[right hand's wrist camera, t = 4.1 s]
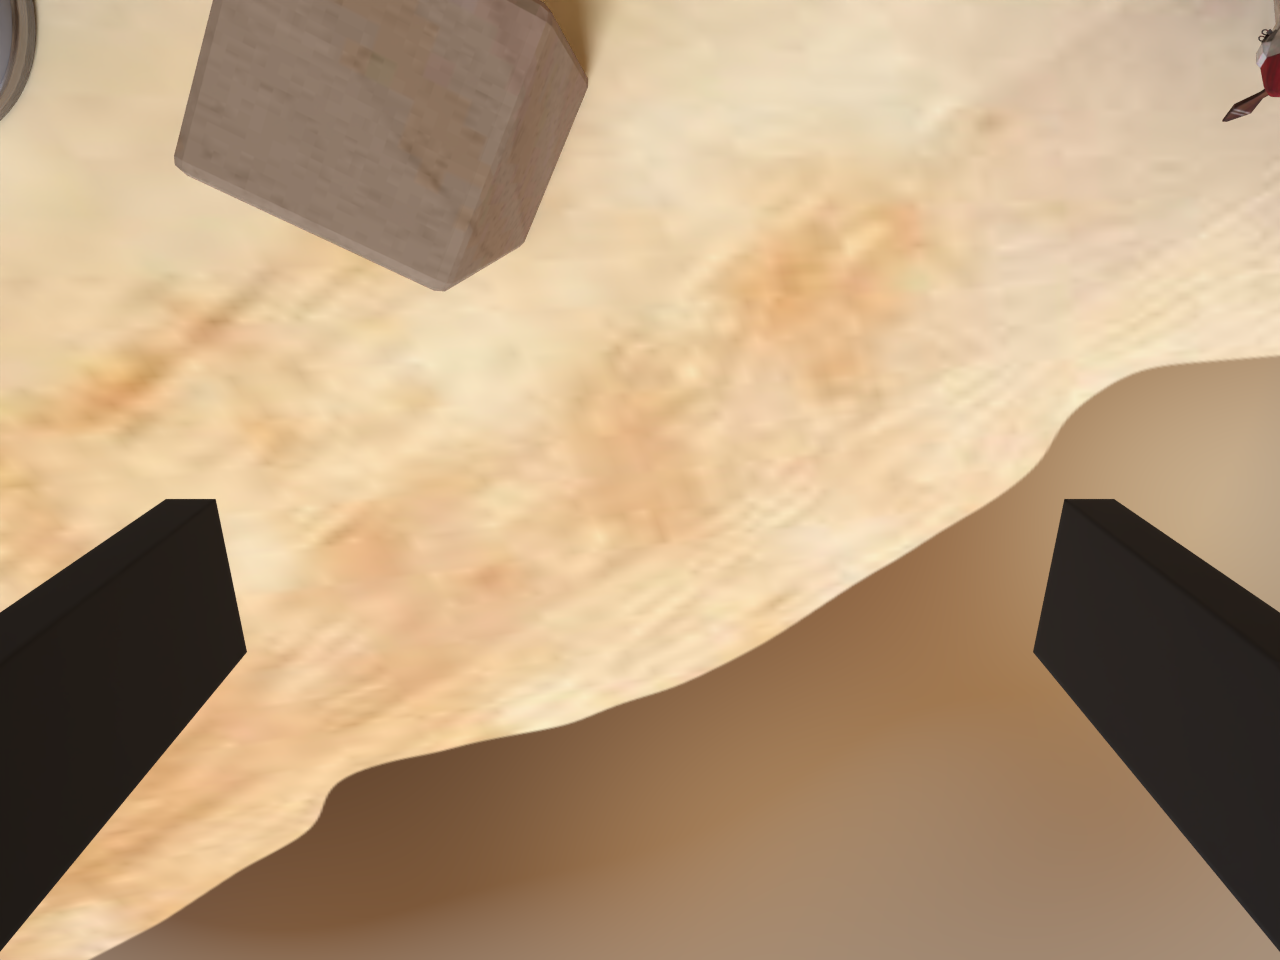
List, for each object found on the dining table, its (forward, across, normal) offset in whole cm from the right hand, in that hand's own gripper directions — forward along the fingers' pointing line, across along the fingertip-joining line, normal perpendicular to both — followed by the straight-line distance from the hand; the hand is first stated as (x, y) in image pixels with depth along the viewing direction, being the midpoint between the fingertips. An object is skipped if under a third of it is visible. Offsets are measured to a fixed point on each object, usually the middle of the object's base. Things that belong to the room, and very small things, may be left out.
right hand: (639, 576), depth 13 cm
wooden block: (+38, -9, +8) cm, 40 cm away
